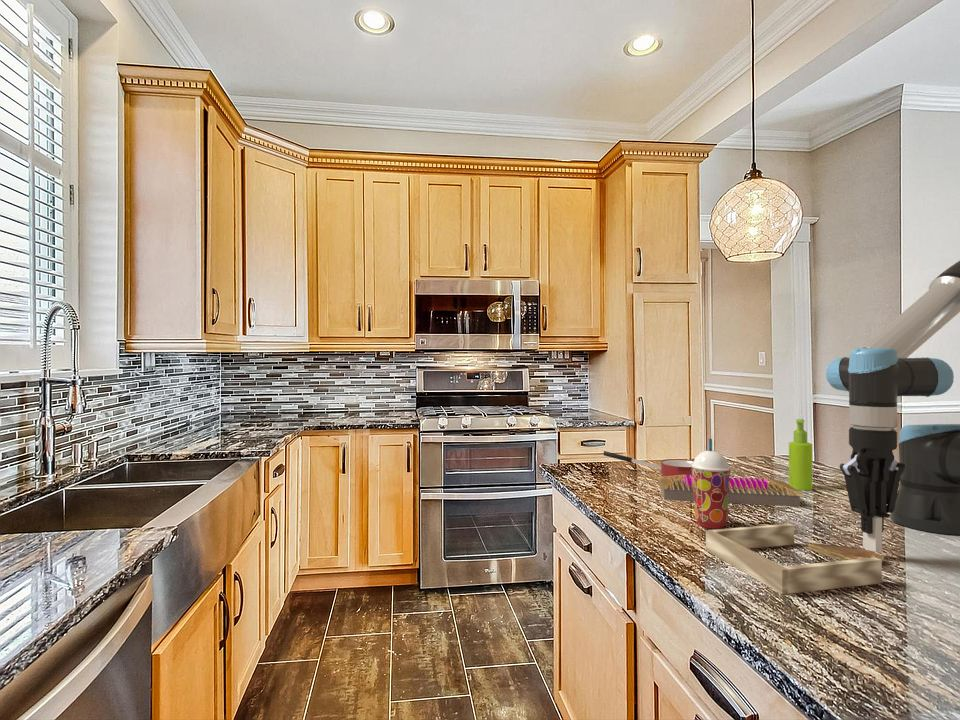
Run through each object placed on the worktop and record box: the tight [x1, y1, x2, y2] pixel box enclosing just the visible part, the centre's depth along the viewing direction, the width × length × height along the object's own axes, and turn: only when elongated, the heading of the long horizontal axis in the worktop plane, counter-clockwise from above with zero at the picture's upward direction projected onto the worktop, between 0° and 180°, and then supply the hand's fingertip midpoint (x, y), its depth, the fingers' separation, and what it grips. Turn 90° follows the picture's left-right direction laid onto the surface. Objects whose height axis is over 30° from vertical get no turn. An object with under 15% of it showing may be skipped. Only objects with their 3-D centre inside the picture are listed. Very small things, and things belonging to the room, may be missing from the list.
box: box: [705, 522, 883, 595], centre depth 99 cm, size 20×20×4 cm
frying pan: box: [602, 450, 695, 479], centre depth 177 cm, size 32×13×6 cm, turn 68°
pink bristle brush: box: [656, 475, 806, 508], centre depth 147 cm, size 35×14×6 cm, turn 76°
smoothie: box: [691, 438, 732, 530], centre depth 123 cm, size 8×8×20 cm
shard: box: [805, 541, 885, 563], centre depth 104 cm, size 11×8×2 cm
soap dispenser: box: [788, 418, 813, 491], centre depth 156 cm, size 6×7×20 cm
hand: (872, 549), depth 103 cm, fingers closed
